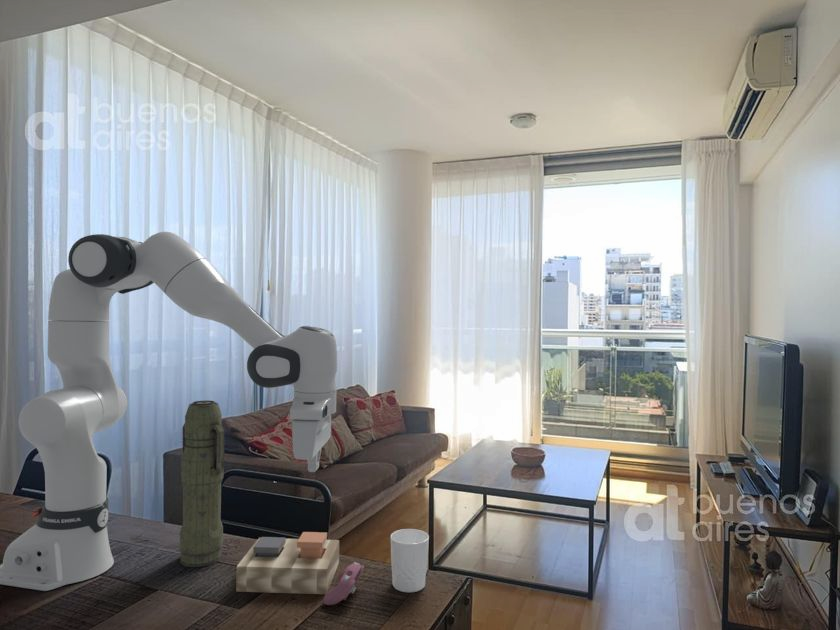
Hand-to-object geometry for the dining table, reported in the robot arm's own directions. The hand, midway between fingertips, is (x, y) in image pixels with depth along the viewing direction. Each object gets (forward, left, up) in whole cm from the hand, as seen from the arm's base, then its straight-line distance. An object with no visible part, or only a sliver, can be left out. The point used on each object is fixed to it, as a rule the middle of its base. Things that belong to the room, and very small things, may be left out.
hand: (313, 470), depth 117 cm
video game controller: (+8, -7, -23) cm, 25 cm away
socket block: (-4, 0, -22) cm, 23 cm away
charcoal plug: (-9, 0, -22) cm, 24 cm away
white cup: (+21, -2, -23) cm, 31 cm away
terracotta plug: (0, 0, -21) cm, 21 cm away
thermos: (-26, +7, -23) cm, 36 cm away
